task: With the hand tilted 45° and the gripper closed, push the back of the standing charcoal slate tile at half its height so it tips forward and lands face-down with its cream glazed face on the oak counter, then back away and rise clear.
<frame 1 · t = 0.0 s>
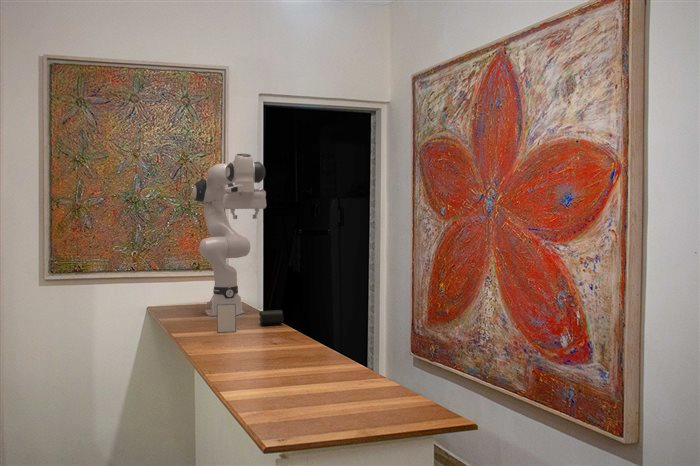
hand: (245, 218, 338), 48 cm above the counter, tool pointing down, fingers open, 8 cm apart
slate tile: (226, 331, 315), on the counter
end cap: (271, 325, 332), on the counter
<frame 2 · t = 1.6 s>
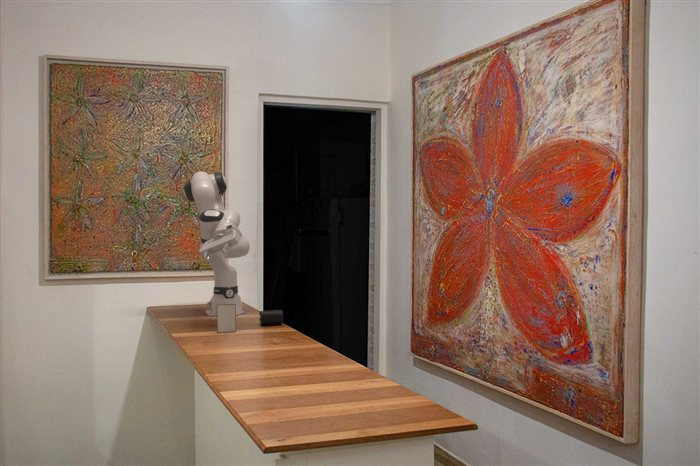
hand: (214, 255, 320), 33 cm above the counter, tool tilted 55°, fingers open, 8 cm apart
nothing on the counter moved.
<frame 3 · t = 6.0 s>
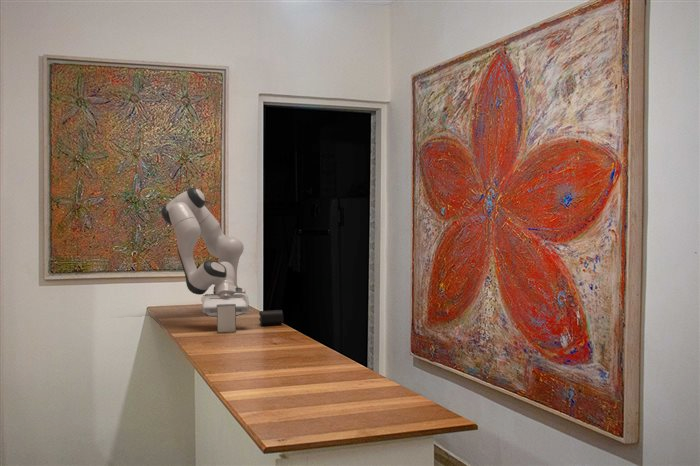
hand: (225, 319, 315), 5 cm above the counter, tool tilted 45°, fingers closed
slate tile: (226, 331, 315), on the counter, tilted 12°
everything else where it was.
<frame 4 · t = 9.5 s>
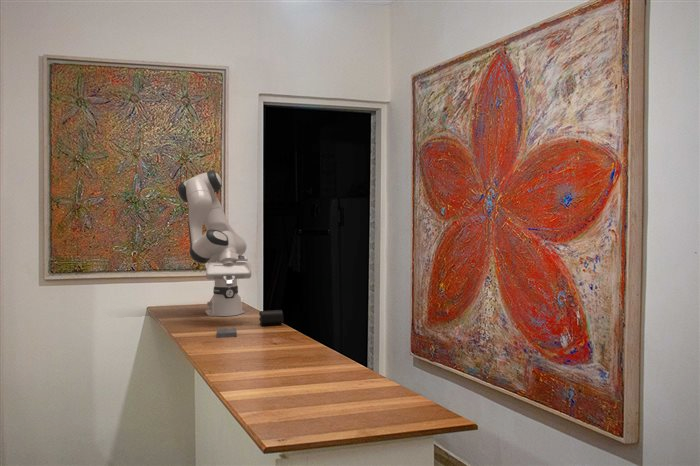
hand: (229, 285, 328), 19 cm above the counter, tool tilted 45°, fingers closed
slate tile: (226, 330, 314), point 1 cm above the counter, tilted 90°
everything else where it was.
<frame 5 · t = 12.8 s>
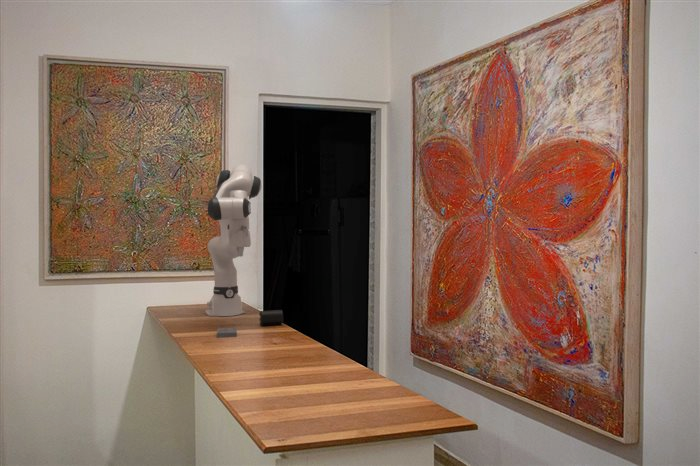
hand: (240, 256, 334), 31 cm above the counter, tool pointing down, fingers closed
nothing on the counter moved.
at the end: slate tile tilted 90°; slate tile inside the target area (0.9 cm from its centre), point 0.8 cm above the counter; the gripper is holding nothing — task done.
